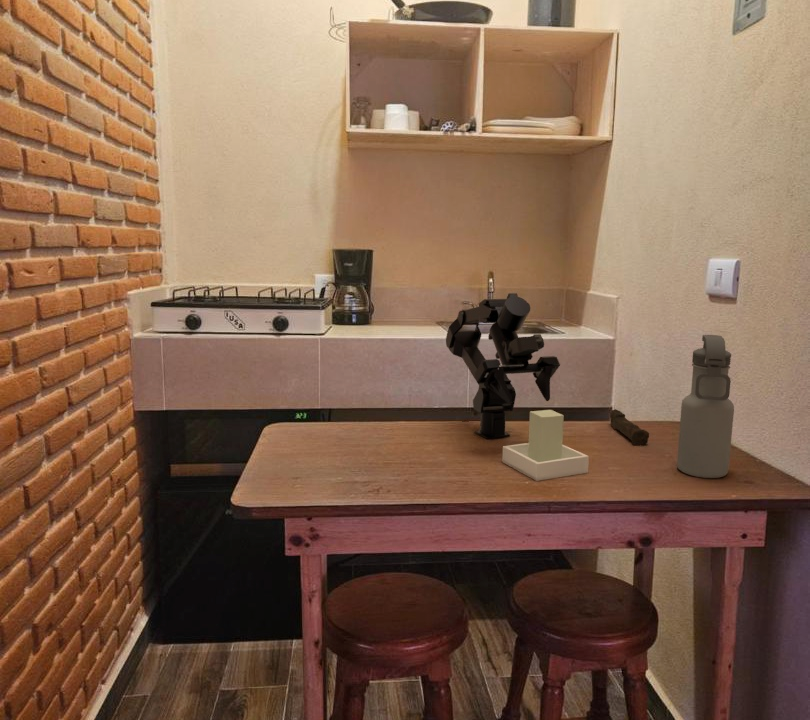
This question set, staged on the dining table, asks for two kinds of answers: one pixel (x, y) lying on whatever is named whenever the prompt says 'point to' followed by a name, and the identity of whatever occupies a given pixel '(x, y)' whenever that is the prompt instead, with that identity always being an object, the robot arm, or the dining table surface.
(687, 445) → the water bottle
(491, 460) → the dining table surface
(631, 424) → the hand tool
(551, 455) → the pale green tall block
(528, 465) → the box
